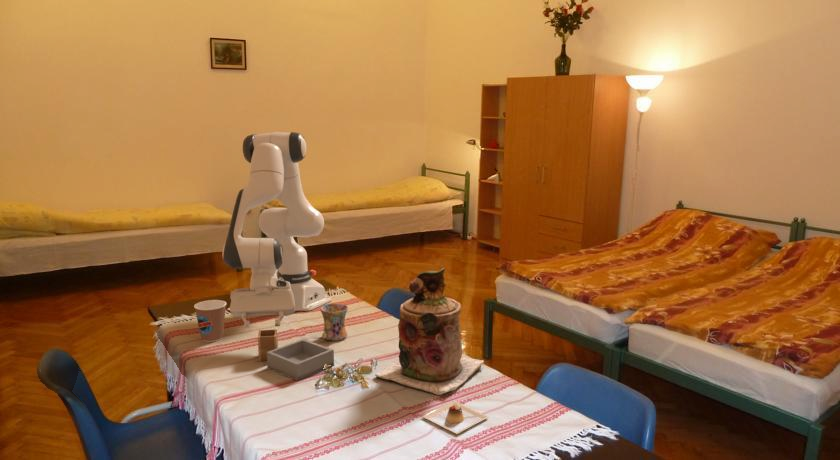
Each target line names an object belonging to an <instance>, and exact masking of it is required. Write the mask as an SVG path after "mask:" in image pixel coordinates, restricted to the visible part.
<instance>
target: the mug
mask: <svg viewBox="0 0 840 460" xmlns="http://www.w3.org/2000/svg"><path fill="white" fill-rule="evenodd" d="M348 310H349V307H348V306H347V305H345V304H344V303H343V304H342V303H327V304H324V305H321V306H320V308H319V311H320V312H321V315H322V317H323V322H324V324H323V325H324V328H323V333H322V334H321V337H322V339H323V340H326V341H330V342H331V341H333V342H334V341H341V340H343V339H344V340H345V339H346V338H347V336H348V332H347V330H346V326H345V321H346V314H347V312H348Z"/></svg>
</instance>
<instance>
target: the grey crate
mask: <svg viewBox="0 0 840 460" xmlns="http://www.w3.org/2000/svg"><path fill="white" fill-rule="evenodd" d="M334 352H335V350H334V349H333V348H330V347H327V346H324V345H322V344H319V343H316V342H313V341H310V340H308V339H304V338H301V339H299V340H296V341H294V342H291V343H288V344H285V345H283V346H280V347H279V346H278V348H277V349H274V350H271V351H268V352H267V362H266V365H267V366H266V367H267V369H269V370H271V371H274V372H276V373H279V374H281V375H283V376H284V377H285V376H286V377H287V378H290V379H293V380H295V381H296V382H298V381H301V380H303V379H306V378H308V377H310V376H313V375H315V374H317V373H320V372H322V371H324V370H323V368H324V365H325V364H327V365H331V367H333V366H335V353H334ZM319 371H320V372H319Z"/></svg>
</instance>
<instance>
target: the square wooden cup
mask: <svg viewBox="0 0 840 460" xmlns="http://www.w3.org/2000/svg"><path fill="white" fill-rule="evenodd" d="M278 339H279V338H278V329H263V330H258V333H257V349H258V350H257V351H258V352H257V354H258V363H265V362H266V363H267V352H268V351H271V350H274V349H277V348H279V346H278Z"/></svg>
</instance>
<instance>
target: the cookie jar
mask: <svg viewBox="0 0 840 460" xmlns="http://www.w3.org/2000/svg"><path fill="white" fill-rule="evenodd" d="M445 270H446V268H441V269H439V270H438V271H437V270H436V271H435V270H430V271H429V270H426V271H423V272H421V273H418V274H417V276H416V277H415V278H414V279H413V280H412V281H410V283H409V286H408V289H409V291H410V293H412V294H414V296H413V297H412V298H409V299H407V300H406V301H404V302H403V303H402V304H400V306H399V321H398V325H397V328H398V338H399V339H398V349H399V354H398V359H396V360H395V361H393V363H391V364H390V365H389V366H387V367H386V368H384V369H383V370H381V371H379V372H376V373H375V377H377V378H379V379H383V380H387V381H393V382H395V383H398V384H400V385H403V386H408V387H410V388H413V389H418V390H419V391H420V390H421V391H425V392H427V393H431V394H435V395H437V396H443V394H446V393H449V392H452V391H455V390H457V389H458V388H459V387H460V386H461V385H462V384H464V383H465V382H466V381H467V380H468V379H469V378H470V377H472V376H473V374H474V373H475V372H476V371H477V370H478V369H480V368H481V367H482V365H483V364H484V363H485V361H484V360H483V359H482V360H481V359H475V358H467V357H462V356H463V340H462V334H461V325H460V317H459V315H460V314H461V311H462V304H461V303H460V302H458V301H456V300H455V299H454V298H450V297H445V296H444V295H443V294H444V292H445V289H446V286H447V284H446V282H445V276H444V273H445Z"/></svg>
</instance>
